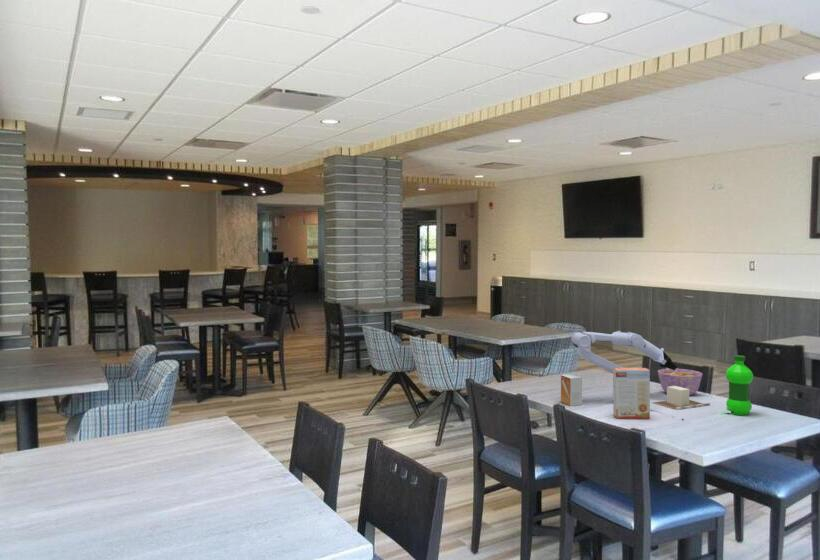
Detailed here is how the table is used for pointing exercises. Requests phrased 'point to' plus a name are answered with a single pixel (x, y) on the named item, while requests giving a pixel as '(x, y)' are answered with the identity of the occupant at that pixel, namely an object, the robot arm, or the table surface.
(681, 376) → the bowl of food
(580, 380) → the small box
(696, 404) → the shelf board
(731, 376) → the plastic bottle
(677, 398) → the carton
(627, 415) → the cracker box
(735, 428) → the table surface
